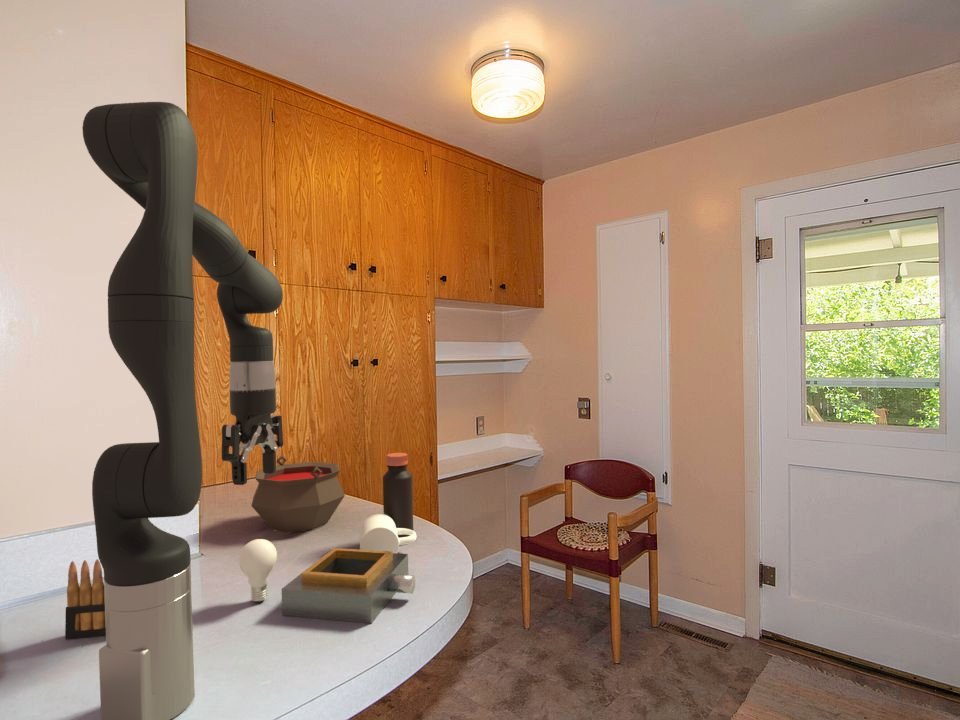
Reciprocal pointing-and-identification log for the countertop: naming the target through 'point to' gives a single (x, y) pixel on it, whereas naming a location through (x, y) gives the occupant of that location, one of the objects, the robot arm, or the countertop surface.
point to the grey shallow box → (348, 585)
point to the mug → (383, 534)
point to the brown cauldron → (298, 495)
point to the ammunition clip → (85, 603)
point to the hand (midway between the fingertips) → (255, 478)
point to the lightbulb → (258, 566)
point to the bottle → (398, 491)
